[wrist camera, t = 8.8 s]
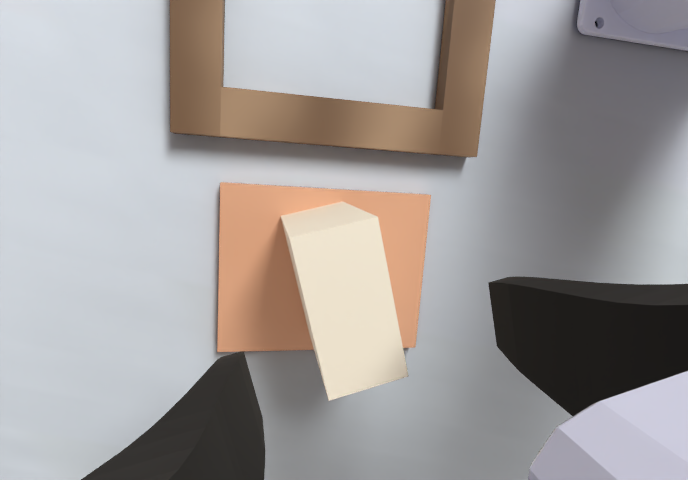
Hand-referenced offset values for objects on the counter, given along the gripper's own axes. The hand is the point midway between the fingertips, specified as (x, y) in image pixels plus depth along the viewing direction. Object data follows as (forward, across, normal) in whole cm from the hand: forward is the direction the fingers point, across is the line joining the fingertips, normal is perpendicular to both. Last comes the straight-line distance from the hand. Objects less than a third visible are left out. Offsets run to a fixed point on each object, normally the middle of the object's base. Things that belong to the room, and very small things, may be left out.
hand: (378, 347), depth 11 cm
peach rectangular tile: (+9, 0, 0) cm, 9 cm away
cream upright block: (+9, 0, 0) cm, 9 cm away
